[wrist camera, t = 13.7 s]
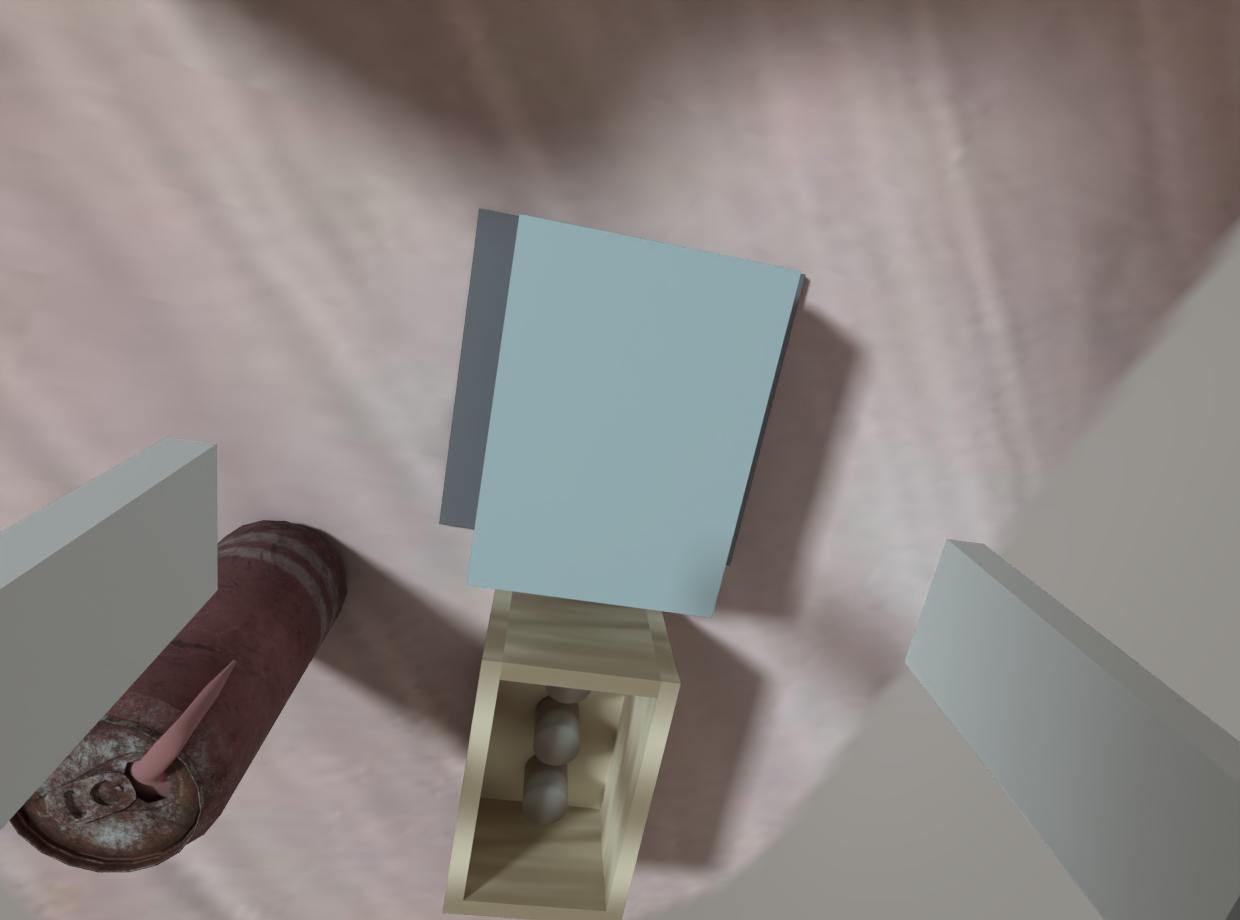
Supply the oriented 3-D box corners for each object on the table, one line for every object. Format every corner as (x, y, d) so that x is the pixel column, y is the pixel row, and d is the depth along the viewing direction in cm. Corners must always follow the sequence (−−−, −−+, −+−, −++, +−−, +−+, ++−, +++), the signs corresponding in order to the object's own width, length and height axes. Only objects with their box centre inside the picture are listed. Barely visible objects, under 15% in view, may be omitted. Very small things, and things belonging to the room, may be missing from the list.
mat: (480, 208, 29) (479, 208, 29) (802, 274, 31) (805, 274, 31) (440, 520, 33) (439, 523, 33) (727, 562, 35) (729, 565, 35)
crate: (497, 577, 34) (481, 659, 28) (658, 598, 35) (680, 683, 29) (463, 793, 38) (442, 913, 31) (609, 807, 39) (620, 925, 32)
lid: (527, 217, 29) (519, 214, 24) (760, 264, 30) (801, 271, 25) (481, 529, 33) (466, 585, 28) (689, 559, 34) (712, 618, 29)
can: (379, 563, 34) (259, 779, 20) (301, 654, 35) (139, 916, 21) (267, 485, 32) (57, 665, 19) (189, 583, 33) (-60, 818, 20)
